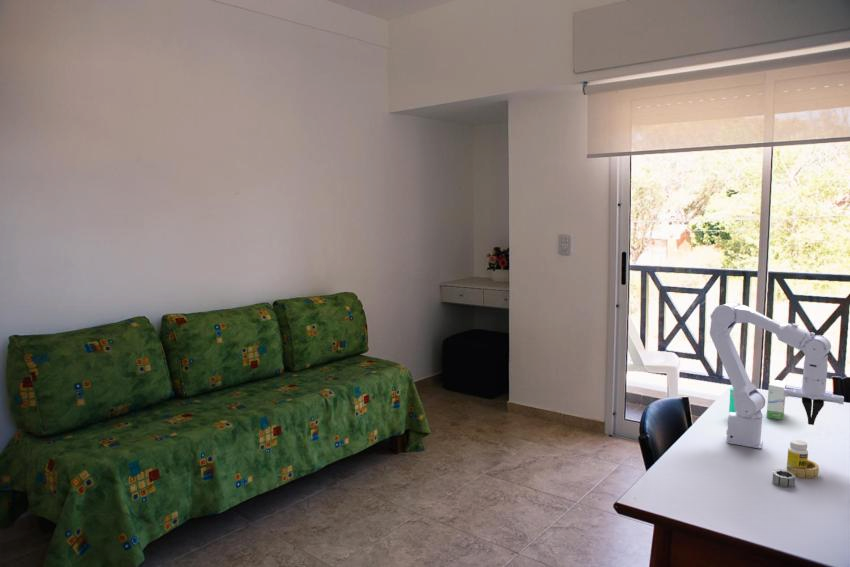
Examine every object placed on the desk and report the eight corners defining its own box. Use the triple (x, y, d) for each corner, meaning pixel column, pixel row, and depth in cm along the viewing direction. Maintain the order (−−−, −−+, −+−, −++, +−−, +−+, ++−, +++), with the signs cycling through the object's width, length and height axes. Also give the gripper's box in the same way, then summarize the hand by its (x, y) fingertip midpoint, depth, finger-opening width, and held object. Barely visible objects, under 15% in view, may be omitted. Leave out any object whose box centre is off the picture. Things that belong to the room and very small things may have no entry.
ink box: (782, 420, 207) (785, 387, 206) (766, 417, 210) (768, 384, 208) (784, 413, 214) (786, 380, 213) (768, 410, 217) (770, 378, 215)
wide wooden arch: (787, 475, 166) (787, 466, 166) (787, 464, 173) (787, 455, 172) (818, 481, 162) (819, 472, 162) (817, 469, 169) (818, 461, 169)
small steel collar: (772, 484, 160) (772, 475, 160) (772, 477, 165) (773, 468, 164) (794, 489, 158) (795, 480, 157) (794, 481, 162) (795, 472, 162)
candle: (750, 418, 209) (752, 384, 208) (744, 422, 205) (747, 388, 203) (731, 414, 213) (733, 381, 212) (726, 418, 209) (728, 385, 207)
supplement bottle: (799, 476, 165) (802, 446, 164) (782, 469, 169) (784, 440, 168) (810, 472, 167) (812, 443, 166) (793, 466, 171) (795, 437, 170)
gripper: (785, 378, 174) (781, 423, 176) (846, 385, 167) (842, 432, 168) (785, 372, 180) (782, 416, 182) (844, 379, 173) (840, 424, 174)
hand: (810, 423), depth 176 cm, fingers closed
